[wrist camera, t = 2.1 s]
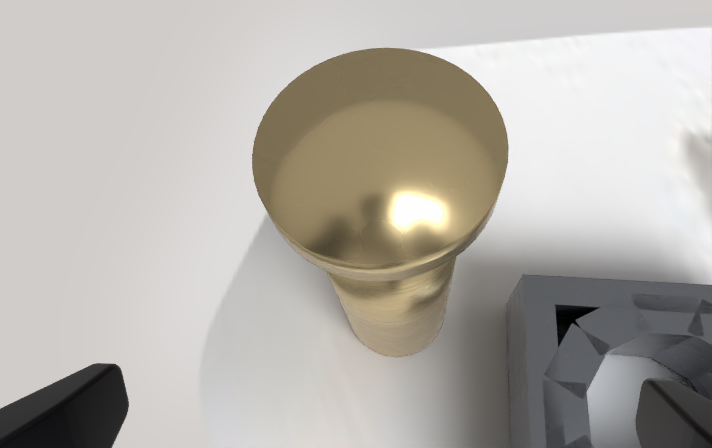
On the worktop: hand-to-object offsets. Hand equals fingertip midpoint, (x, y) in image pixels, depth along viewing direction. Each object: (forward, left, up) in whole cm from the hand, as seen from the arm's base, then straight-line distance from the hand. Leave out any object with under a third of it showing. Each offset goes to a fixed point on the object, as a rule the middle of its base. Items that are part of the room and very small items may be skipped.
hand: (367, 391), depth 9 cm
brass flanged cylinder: (+5, 0, -11) cm, 12 cm away
